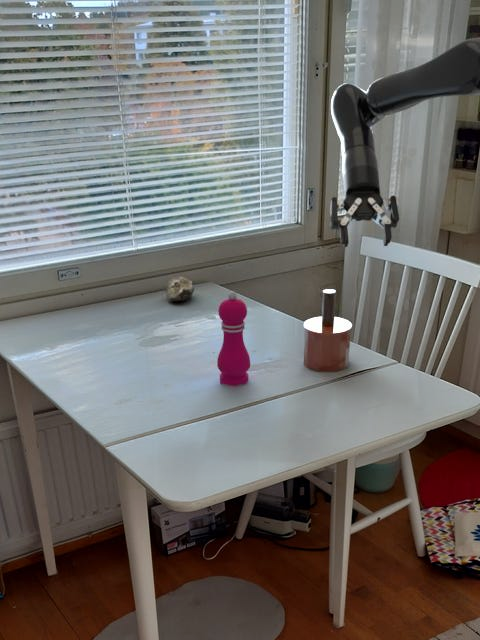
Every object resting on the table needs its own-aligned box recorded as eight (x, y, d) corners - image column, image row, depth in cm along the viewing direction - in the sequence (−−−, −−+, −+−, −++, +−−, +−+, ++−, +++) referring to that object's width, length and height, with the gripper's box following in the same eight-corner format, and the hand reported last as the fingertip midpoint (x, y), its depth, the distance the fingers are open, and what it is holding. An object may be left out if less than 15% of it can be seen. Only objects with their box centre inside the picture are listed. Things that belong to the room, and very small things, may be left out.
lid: (351, 321, 180) (353, 284, 175) (352, 339, 171) (354, 299, 166) (304, 320, 181) (305, 283, 176) (302, 338, 172) (303, 298, 167)
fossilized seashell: (187, 297, 213) (203, 292, 221) (176, 273, 212) (193, 270, 220) (166, 308, 217) (183, 303, 225) (155, 286, 216) (173, 282, 224)
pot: (347, 355, 184) (350, 319, 179) (348, 372, 176) (351, 336, 171) (304, 354, 185) (305, 319, 180) (303, 371, 177) (304, 335, 172)
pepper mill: (256, 379, 173) (256, 289, 162) (238, 391, 168) (237, 299, 157) (229, 373, 176) (227, 284, 165) (211, 384, 171) (207, 293, 160)
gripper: (329, 164, 163) (335, 235, 160) (397, 162, 164) (404, 233, 161) (324, 186, 170) (330, 255, 168) (389, 184, 171) (396, 253, 168)
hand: (366, 244), depth 164 cm, fingers open, 8 cm apart
